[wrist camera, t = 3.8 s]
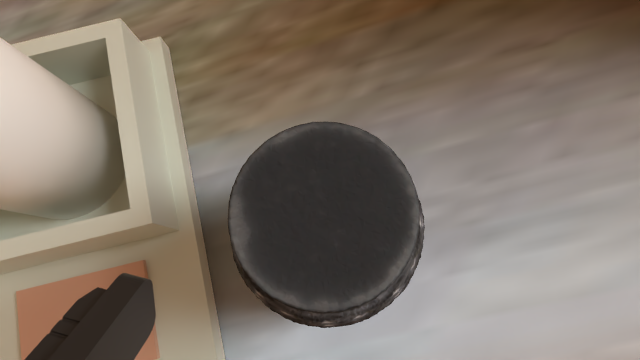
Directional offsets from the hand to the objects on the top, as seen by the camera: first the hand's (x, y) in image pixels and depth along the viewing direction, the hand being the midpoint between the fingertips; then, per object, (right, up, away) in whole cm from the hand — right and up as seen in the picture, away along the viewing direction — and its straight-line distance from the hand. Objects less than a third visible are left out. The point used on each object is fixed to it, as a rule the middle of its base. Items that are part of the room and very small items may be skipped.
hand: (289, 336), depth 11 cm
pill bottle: (+1, +1, +10) cm, 10 cm away
